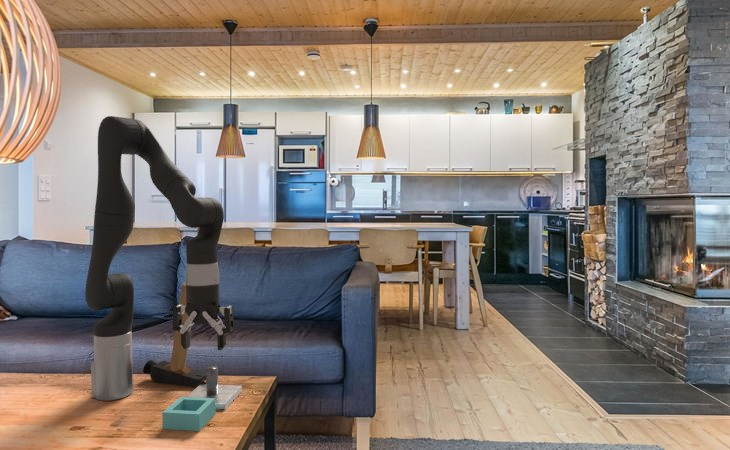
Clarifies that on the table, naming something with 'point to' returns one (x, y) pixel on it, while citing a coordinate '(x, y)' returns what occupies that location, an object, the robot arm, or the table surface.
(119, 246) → the robot arm
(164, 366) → the hammer
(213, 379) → the stand
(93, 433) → the table surface
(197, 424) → the collar
